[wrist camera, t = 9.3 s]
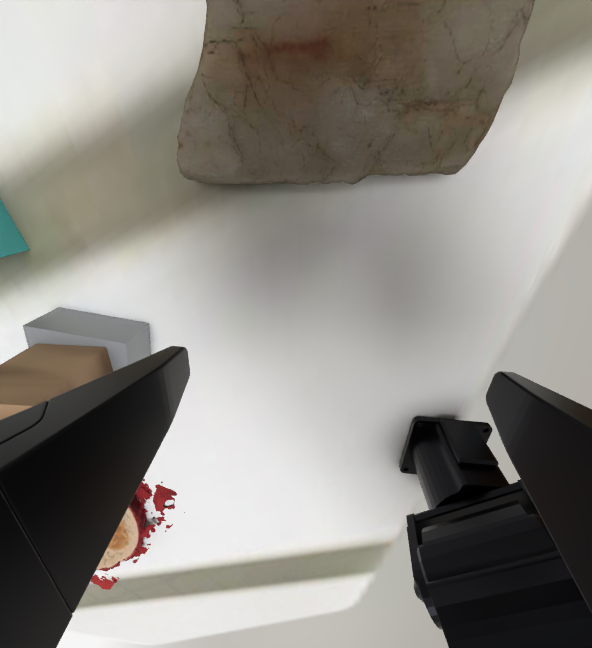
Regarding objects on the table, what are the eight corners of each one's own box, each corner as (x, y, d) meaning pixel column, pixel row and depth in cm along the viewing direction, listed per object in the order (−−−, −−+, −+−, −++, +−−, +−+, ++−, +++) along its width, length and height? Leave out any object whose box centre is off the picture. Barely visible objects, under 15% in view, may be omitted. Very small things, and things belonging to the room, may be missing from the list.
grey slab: (154, 391, 27) (133, 419, 24) (75, 377, 27) (43, 404, 24) (151, 321, 24) (125, 343, 21) (61, 305, 24) (22, 325, 21)
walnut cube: (122, 403, 23) (64, 472, 18) (59, 399, 23) (-18, 467, 18) (106, 347, 21) (33, 406, 16) (36, 343, 21) (-60, 400, 16)
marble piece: (193, 182, 19) (164, 183, 16) (145, -200, 13) (74, -354, 9) (462, 184, 18) (499, 186, 15) (553, -224, 12) (661, -407, 8)
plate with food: (-70, 505, 38) (-105, 536, 35) (-36, 372, 27) (-82, 400, 24) (115, 576, 44) (100, 608, 40) (204, 490, 33) (192, 525, 30)
